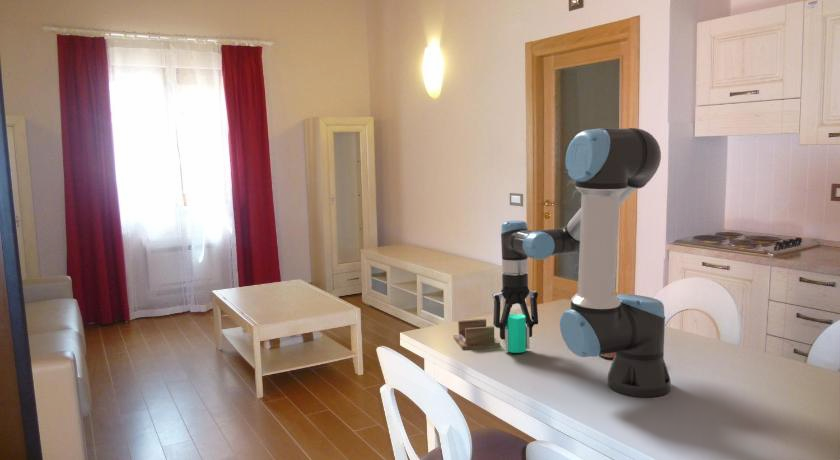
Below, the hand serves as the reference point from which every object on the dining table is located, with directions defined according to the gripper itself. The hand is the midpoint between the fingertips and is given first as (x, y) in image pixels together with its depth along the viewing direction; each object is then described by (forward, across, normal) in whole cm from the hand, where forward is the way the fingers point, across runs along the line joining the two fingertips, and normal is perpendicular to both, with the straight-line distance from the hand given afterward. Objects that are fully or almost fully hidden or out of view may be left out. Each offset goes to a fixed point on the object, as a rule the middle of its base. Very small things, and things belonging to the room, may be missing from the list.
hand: (516, 348), depth 186 cm
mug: (+2, -27, +10) cm, 29 cm away
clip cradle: (+1, +9, -12) cm, 15 cm away
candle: (+1, 0, 0) cm, 1 cm away
